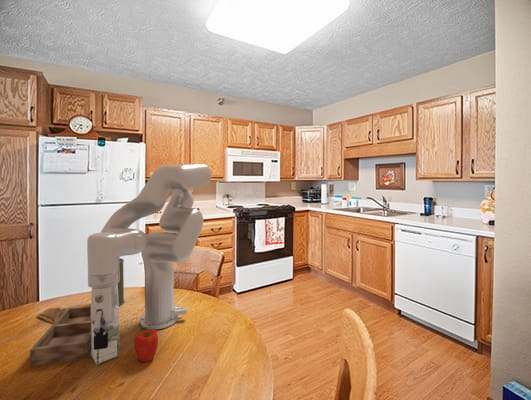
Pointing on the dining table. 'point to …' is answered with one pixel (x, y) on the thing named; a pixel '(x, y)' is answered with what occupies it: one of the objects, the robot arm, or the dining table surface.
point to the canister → (121, 283)
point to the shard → (52, 314)
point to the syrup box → (113, 341)
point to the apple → (146, 345)
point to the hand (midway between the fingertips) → (105, 339)
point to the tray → (65, 338)
